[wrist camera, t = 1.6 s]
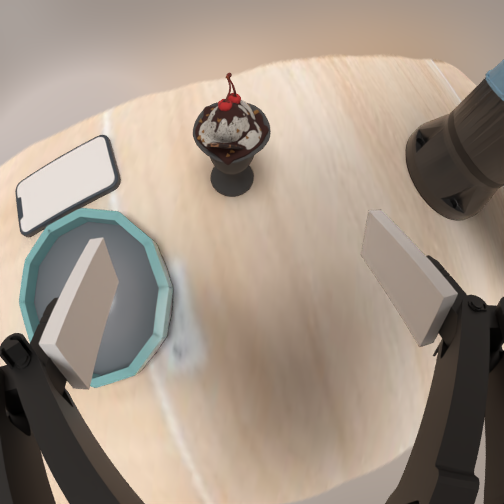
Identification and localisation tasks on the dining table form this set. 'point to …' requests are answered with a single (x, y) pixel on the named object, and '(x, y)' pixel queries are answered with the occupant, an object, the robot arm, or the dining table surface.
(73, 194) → the smartphone
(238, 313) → the dining table surface
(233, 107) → the sundae
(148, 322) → the round tray
